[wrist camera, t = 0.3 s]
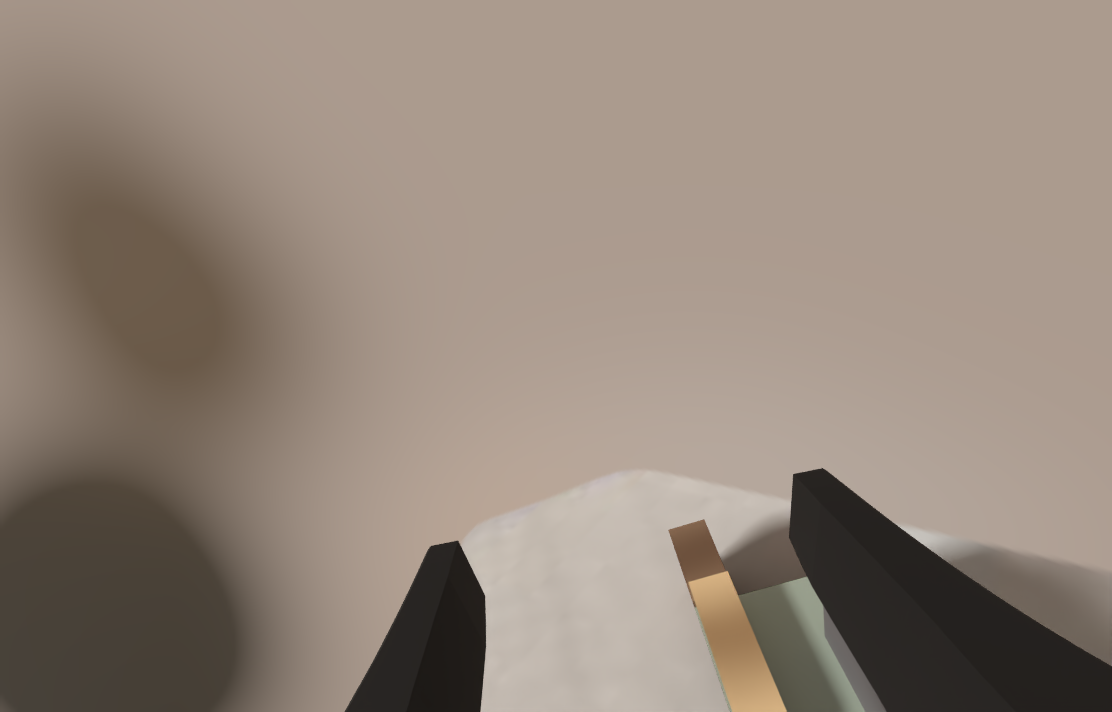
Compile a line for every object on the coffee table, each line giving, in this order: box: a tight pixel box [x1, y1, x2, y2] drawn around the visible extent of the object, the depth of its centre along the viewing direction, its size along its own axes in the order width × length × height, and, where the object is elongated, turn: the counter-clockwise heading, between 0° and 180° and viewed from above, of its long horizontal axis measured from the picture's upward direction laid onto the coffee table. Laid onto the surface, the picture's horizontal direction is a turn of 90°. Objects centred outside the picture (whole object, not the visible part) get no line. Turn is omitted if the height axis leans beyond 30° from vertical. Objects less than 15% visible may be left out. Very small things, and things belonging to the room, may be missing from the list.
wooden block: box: [688, 571, 787, 712], centre depth 20 cm, size 6×2×2 cm, turn 6°
